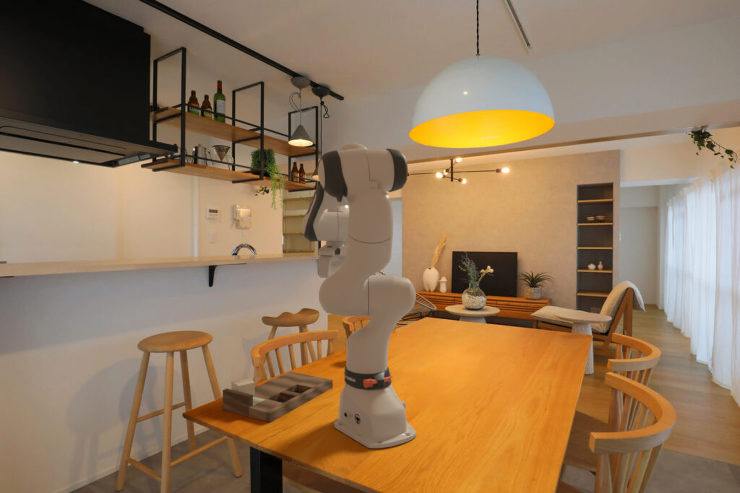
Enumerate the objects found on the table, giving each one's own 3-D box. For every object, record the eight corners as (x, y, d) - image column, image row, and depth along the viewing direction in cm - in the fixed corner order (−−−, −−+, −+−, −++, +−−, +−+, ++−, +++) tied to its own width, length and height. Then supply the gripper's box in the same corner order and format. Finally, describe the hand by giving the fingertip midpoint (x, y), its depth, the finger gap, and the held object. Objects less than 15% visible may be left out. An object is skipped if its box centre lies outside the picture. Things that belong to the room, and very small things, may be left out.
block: (247, 391, 124) (247, 377, 124) (254, 395, 120) (255, 382, 120) (231, 394, 121) (231, 381, 121) (238, 400, 117) (238, 386, 117)
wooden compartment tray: (290, 378, 143) (290, 363, 143) (332, 387, 135) (332, 370, 135) (222, 409, 116) (222, 390, 116) (270, 422, 108) (270, 401, 108)
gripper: (345, 248, 157) (345, 284, 157) (314, 250, 138) (314, 291, 139) (360, 249, 154) (359, 286, 154) (330, 250, 136) (330, 292, 136)
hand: (338, 288), depth 146 cm, fingers closed
